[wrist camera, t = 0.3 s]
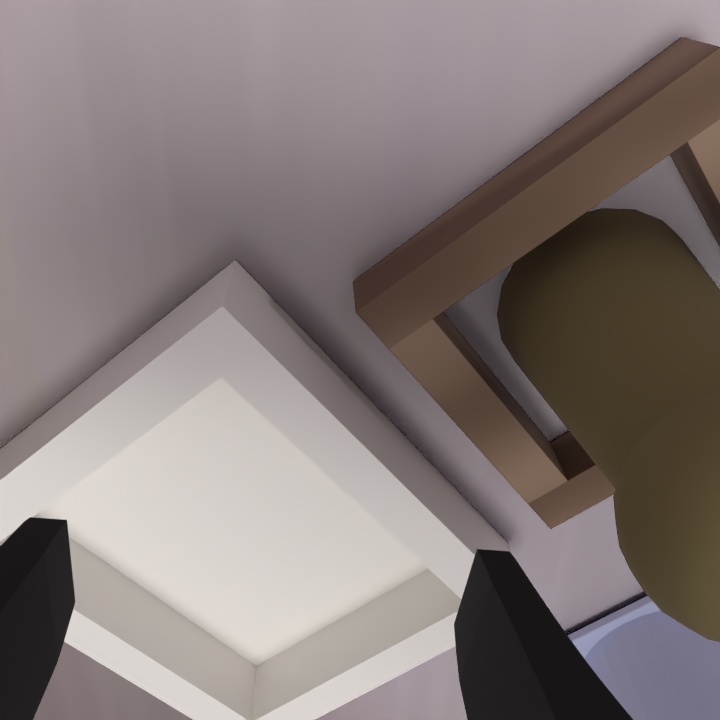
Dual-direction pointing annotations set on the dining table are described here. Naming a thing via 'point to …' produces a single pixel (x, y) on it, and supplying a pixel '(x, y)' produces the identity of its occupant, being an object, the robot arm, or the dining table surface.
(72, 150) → the dining table surface
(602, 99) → the walnut socket
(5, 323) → the dining table surface
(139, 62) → the dining table surface
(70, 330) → the dining table surface
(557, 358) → the cork
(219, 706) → the cream tray
